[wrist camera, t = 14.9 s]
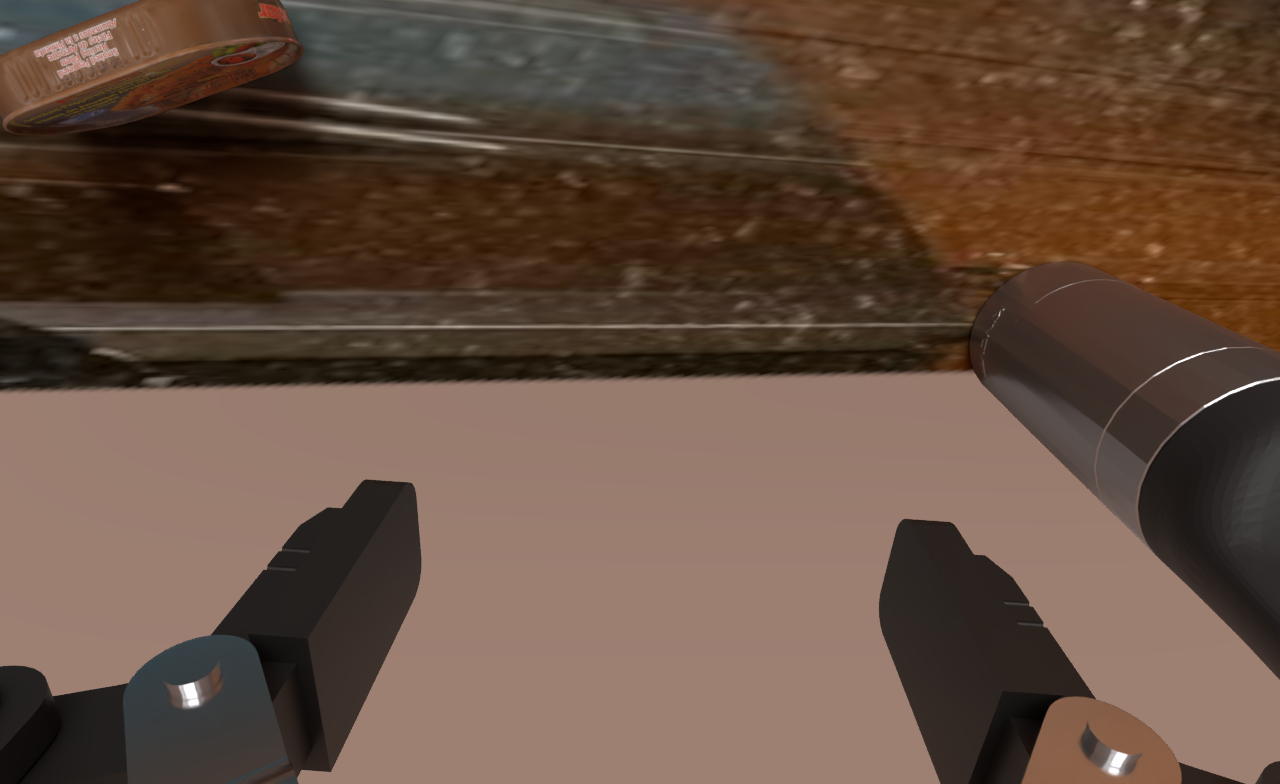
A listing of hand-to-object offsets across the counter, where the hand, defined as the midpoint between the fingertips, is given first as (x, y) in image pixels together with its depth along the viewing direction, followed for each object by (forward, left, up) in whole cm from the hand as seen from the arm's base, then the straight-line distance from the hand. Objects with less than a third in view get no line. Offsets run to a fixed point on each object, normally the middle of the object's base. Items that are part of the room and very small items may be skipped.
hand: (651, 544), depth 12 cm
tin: (+26, -6, -32) cm, 42 cm away
